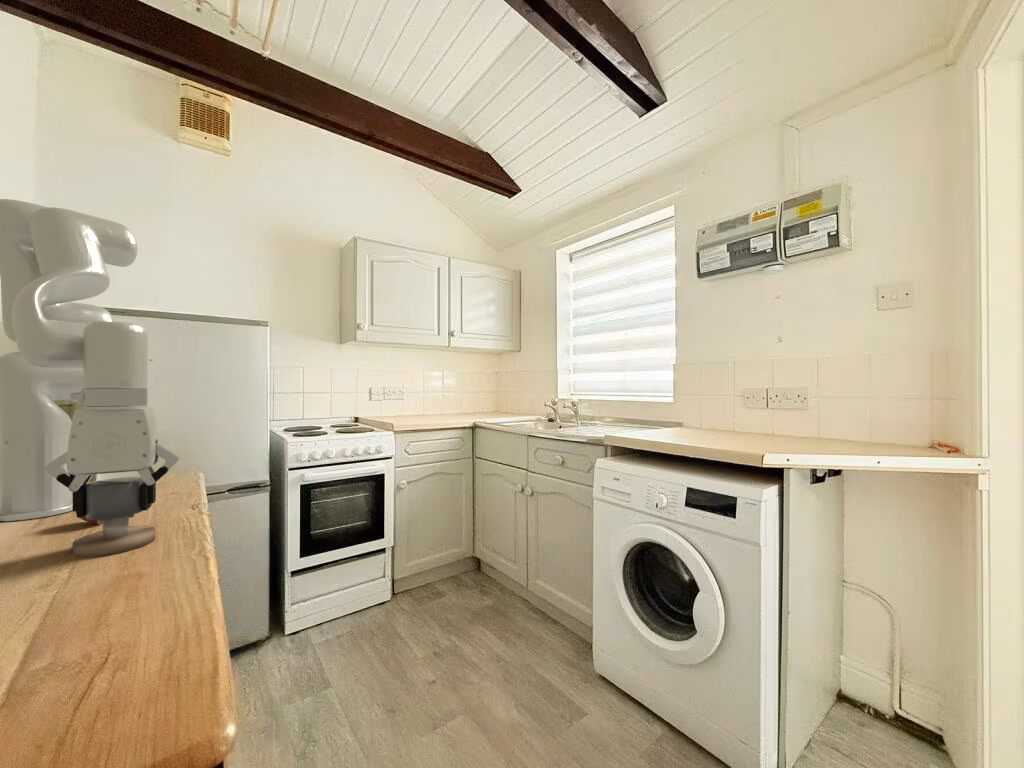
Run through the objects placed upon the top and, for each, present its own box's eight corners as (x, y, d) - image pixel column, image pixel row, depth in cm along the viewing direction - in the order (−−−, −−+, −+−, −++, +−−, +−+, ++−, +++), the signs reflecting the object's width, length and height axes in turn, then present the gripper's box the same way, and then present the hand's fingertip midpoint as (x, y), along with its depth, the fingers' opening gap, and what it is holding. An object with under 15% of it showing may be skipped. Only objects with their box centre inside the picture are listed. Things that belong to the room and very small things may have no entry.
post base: (63, 549, 66) (63, 516, 66) (141, 530, 74) (141, 502, 74) (84, 562, 61) (84, 527, 61) (165, 541, 69) (165, 510, 69)
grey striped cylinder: (72, 519, 64) (72, 485, 64) (122, 504, 72) (122, 474, 72) (116, 520, 64) (116, 486, 64) (161, 505, 72) (161, 474, 72)
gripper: (26, 401, 60) (25, 527, 60) (179, 399, 68) (179, 510, 68) (51, 400, 67) (51, 513, 67) (188, 398, 75) (188, 499, 75)
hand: (115, 510), depth 67 cm, fingers closed on grey striped cylinder, 6 cm apart
